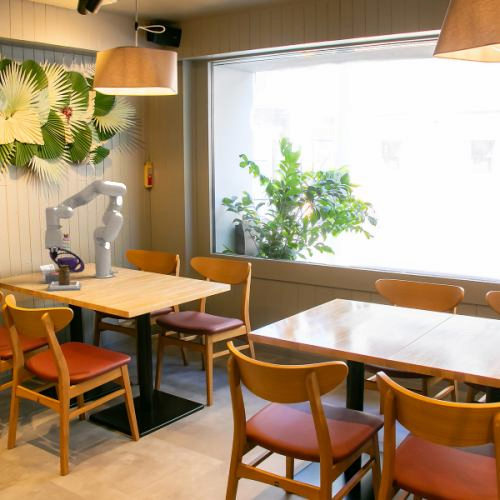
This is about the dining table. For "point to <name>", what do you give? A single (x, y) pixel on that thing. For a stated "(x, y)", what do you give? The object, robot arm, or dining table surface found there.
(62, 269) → the condiment
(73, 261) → the decorative bottle
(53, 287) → the tray
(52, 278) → the button housing
